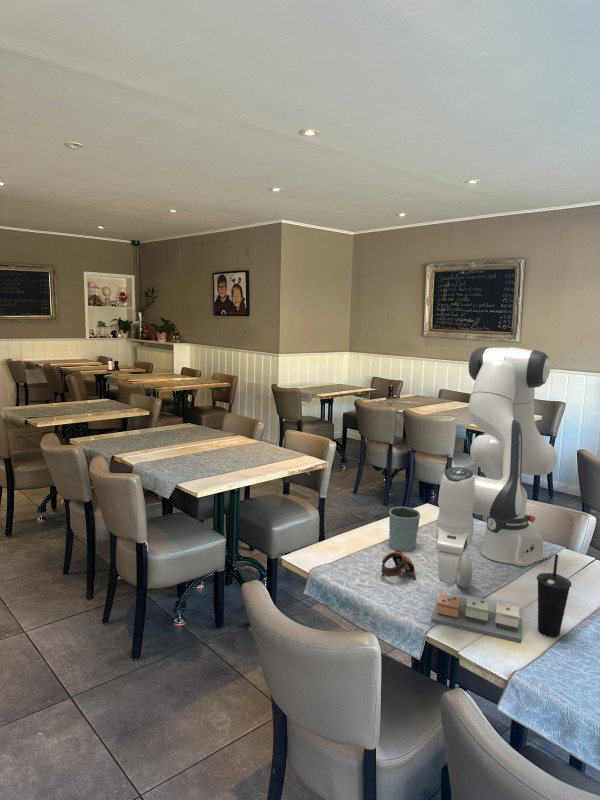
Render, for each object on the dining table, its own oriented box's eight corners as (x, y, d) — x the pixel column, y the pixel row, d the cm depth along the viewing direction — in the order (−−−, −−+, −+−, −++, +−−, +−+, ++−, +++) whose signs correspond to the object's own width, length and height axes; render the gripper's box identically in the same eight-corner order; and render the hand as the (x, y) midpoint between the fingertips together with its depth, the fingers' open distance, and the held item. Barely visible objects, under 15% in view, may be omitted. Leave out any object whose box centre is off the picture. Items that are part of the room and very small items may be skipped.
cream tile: (495, 622, 135) (496, 611, 135) (496, 612, 140) (497, 601, 139) (518, 627, 133) (519, 616, 133) (518, 617, 138) (519, 606, 137)
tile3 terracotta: (436, 612, 140) (437, 601, 140) (439, 603, 145) (440, 592, 145) (457, 617, 138) (458, 606, 138) (460, 607, 143) (460, 597, 143)
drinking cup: (525, 623, 139) (533, 548, 136) (554, 623, 140) (563, 548, 137) (541, 641, 132) (549, 562, 129) (572, 640, 133) (581, 561, 130)
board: (430, 622, 139) (431, 612, 138) (437, 603, 148) (437, 594, 148) (520, 643, 131) (521, 633, 131) (521, 622, 140) (522, 613, 140)
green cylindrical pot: (403, 538, 191) (406, 505, 189) (424, 549, 183) (427, 514, 181) (380, 543, 186) (382, 509, 184) (401, 555, 178) (403, 519, 176)
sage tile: (465, 615, 138) (466, 604, 137) (467, 606, 142) (468, 595, 142) (487, 620, 136) (488, 609, 135) (488, 610, 140) (489, 600, 140)
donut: (451, 577, 163) (453, 545, 162) (463, 577, 163) (465, 545, 162) (460, 594, 153) (462, 560, 152) (472, 594, 153) (475, 560, 152)
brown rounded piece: (420, 586, 158) (409, 565, 156) (389, 596, 160) (378, 575, 158) (415, 558, 169) (404, 538, 167) (386, 568, 171) (375, 548, 169)
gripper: (447, 516, 150) (444, 564, 152) (435, 546, 131) (431, 600, 133) (471, 520, 147) (468, 568, 150) (462, 551, 129) (458, 606, 131)
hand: (450, 584), depth 141 cm, fingers closed
